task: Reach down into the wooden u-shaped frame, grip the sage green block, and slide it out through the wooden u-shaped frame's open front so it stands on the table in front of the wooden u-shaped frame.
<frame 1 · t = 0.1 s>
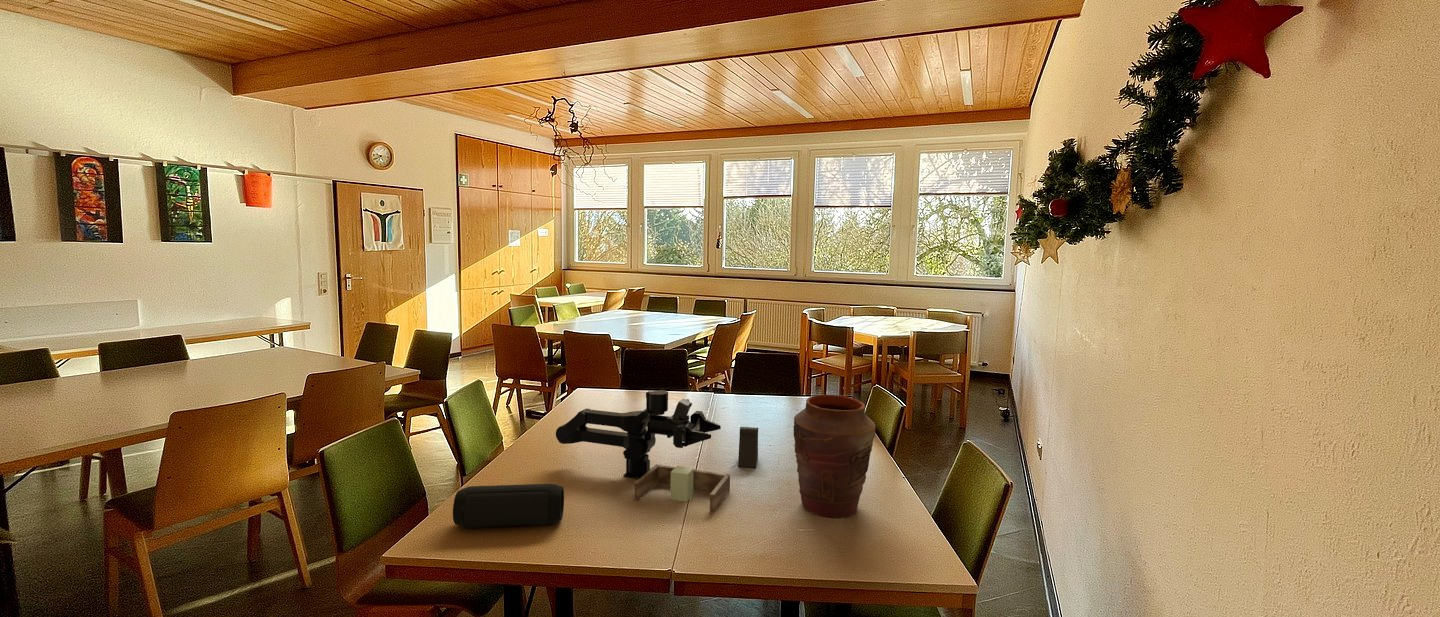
hand: (715, 431, 176), 17 cm above the table, tool horizontal, fingers open, 9 cm apart
wooden u-shaped frame: (682, 496, 170), on the table
door stopper: (748, 463, 197), on the table
block: (681, 497, 169), on the table
vase: (830, 507, 165), on the table
portable speaker: (510, 525, 151), on the table
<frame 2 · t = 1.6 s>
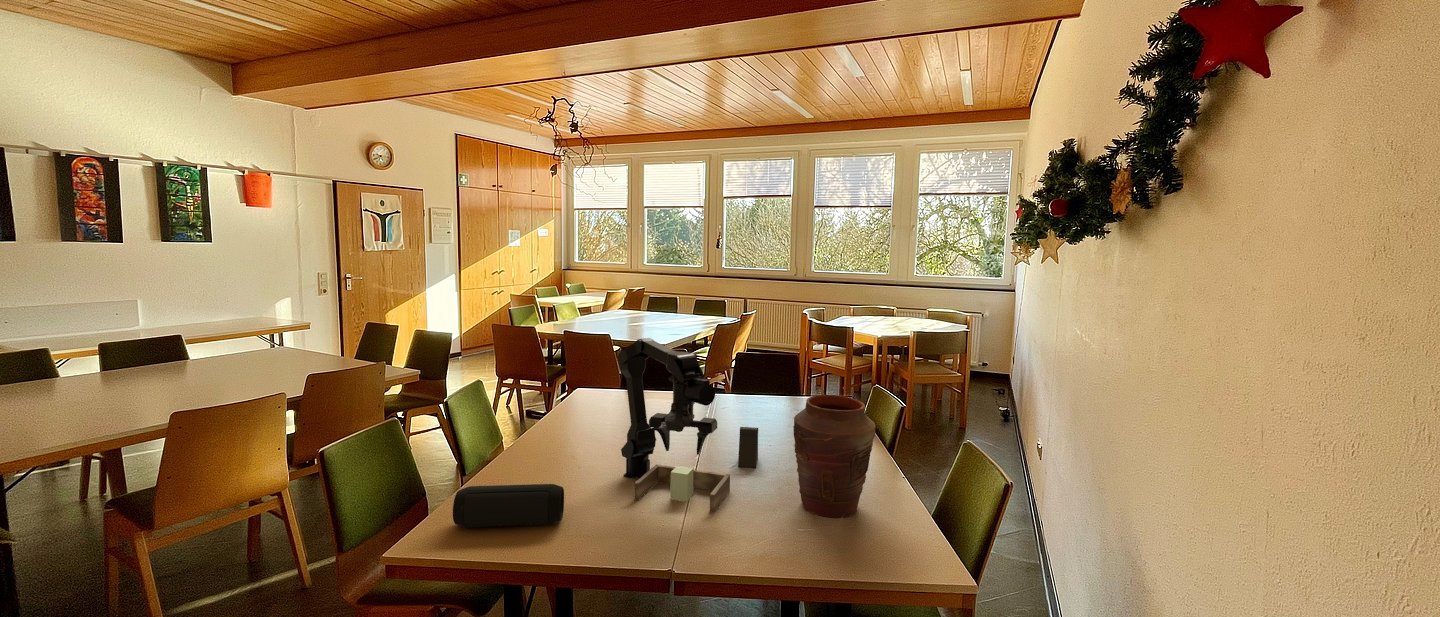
hand: (682, 452, 168), 13 cm above the table, tool pointing down, fingers open, 9 cm apart
nothing on the table moved.
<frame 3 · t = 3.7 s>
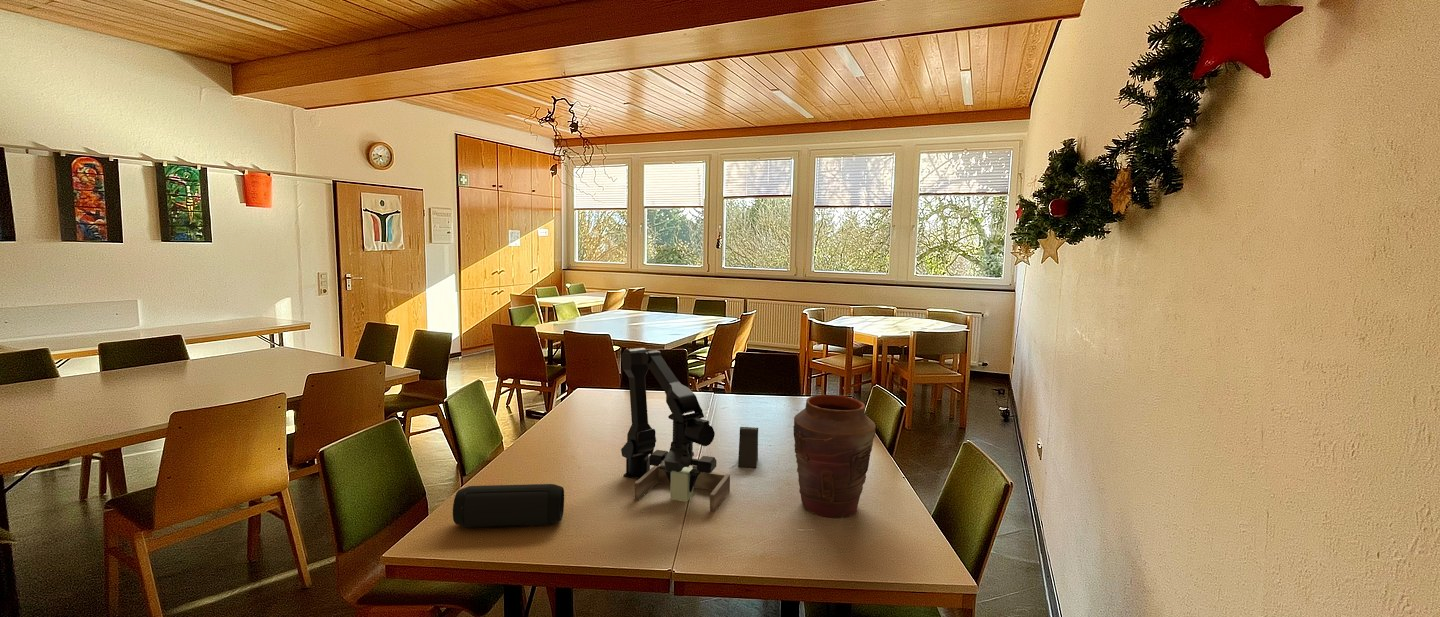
hand: (681, 490, 169), 2 cm above the table, tool pointing down, fingers closed on block, 5 cm apart
block: (681, 497, 169), on the table, touching gripper
everything else where it was.
when the fingers open (3 cm above the table, at t = 8.8 s): block stays where it is, on the table.
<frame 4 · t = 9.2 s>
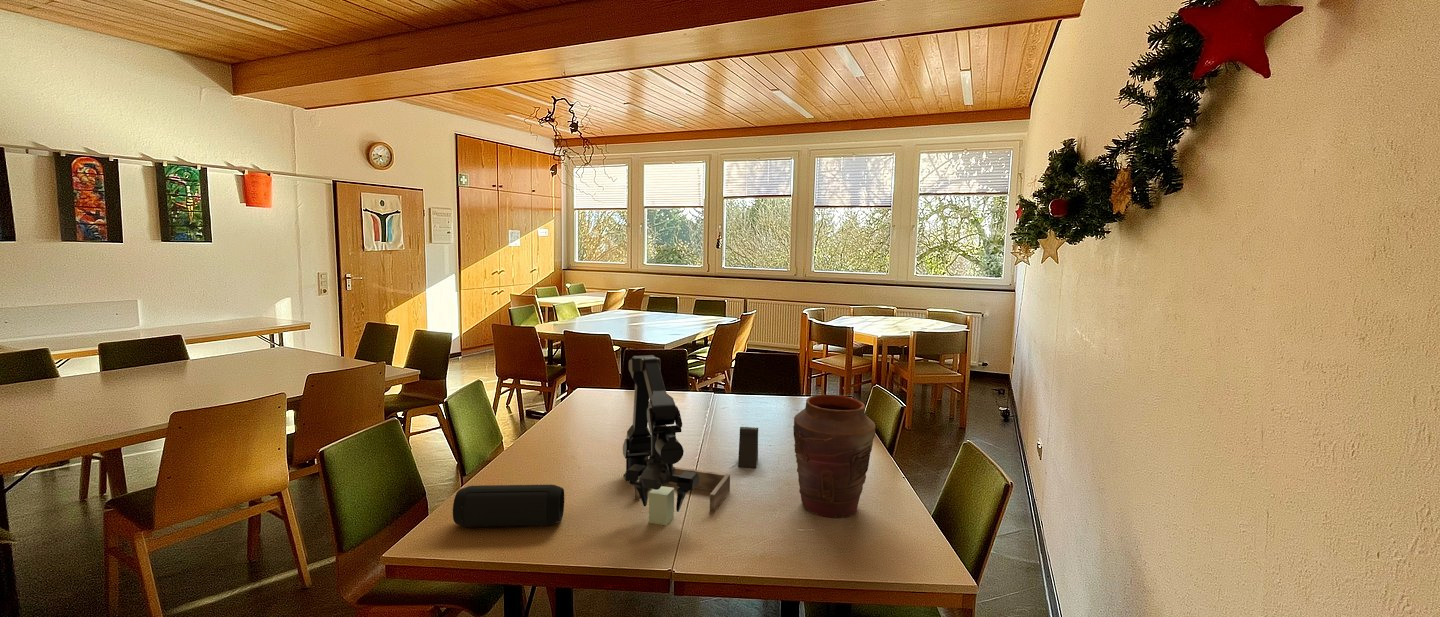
hand: (661, 508, 155), 3 cm above the table, tool pointing down, fingers open, 9 cm apart
block: (661, 519, 155), on the table
everything else where it was.
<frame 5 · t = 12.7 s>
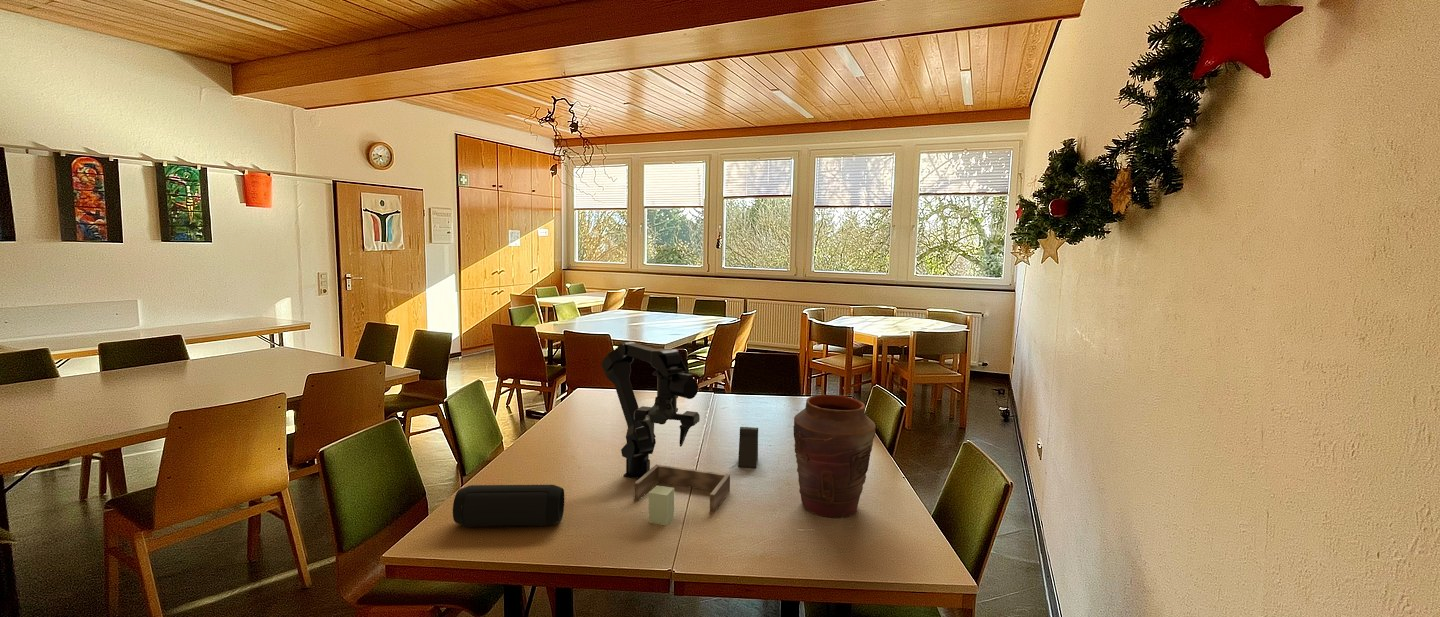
hand: (666, 444, 175), 13 cm above the table, tool pointing down, fingers open, 9 cm apart
nothing on the table moved.
at the end: block inside the target area (0.0 cm from its centre), on the table; block tilted 0°; the gripper is holding nothing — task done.
